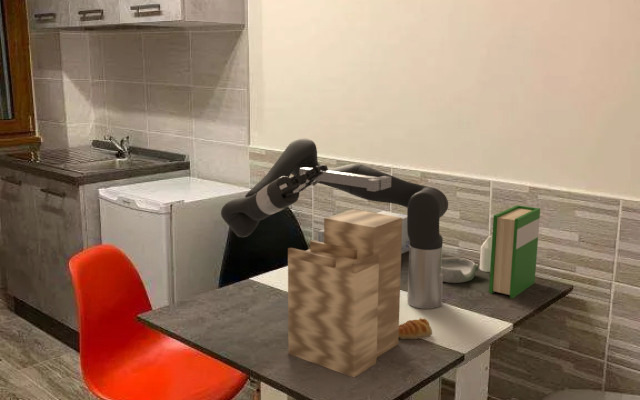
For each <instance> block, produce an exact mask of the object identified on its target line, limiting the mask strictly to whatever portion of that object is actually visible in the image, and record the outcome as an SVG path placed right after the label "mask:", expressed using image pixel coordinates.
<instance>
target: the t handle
mask: <svg viewBox="0 0 640 400" xmlns="http://www.w3.org/2000/svg"><path fill="white" fill-rule="evenodd" d="M311 169H312V168H307V167H304V168H299V174H302V173H303V172H306V173H307V171H309V170H311ZM320 170H321V175H319V176H317V177H315V178H314V179H312V180H316V181H323V182H329V183H336V184H343V185H349V186H356V187H363V188H367V191H373V192H375V191H378V190H383V189H386V188H389V187H391V177H389V176H381V177H374V176H366V175H359V174H352V173H344V172H337V171H329V170H322V169H320ZM309 180H310V179H309Z"/></svg>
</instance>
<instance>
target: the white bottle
mask: <svg viewBox="0 0 640 400" xmlns="http://www.w3.org/2000/svg"><path fill="white" fill-rule="evenodd" d="M491 250H492V235H490V236H488V237H487V238H486V240H485V241H484V242H483V243H482V244H481V246H480V258H479V270H480V271H482V272H484V273H485V272H486V273H490V266H491Z"/></svg>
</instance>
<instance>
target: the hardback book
mask: <svg viewBox="0 0 640 400" xmlns="http://www.w3.org/2000/svg"><path fill="white" fill-rule="evenodd" d="M540 217H541V208H538V207H531V206H524V205H517V204H516V205H514V206H512V207H510V208H507V209H506V210H503V211H501V212H498V213H496V214H493V218H492V221H493V222H492V250H491V266H490V272H489V273H490V274H489V283H488V284H489V285H488V294H494V293H495V292H496V293H500V294H504V295H508V296H509V298H510V299H514V298H515V297H516V296H518V295H519V294H521V293H523V292H525V290H527V289H528V288H530V287H531V286H533V285H534V284H535V283H536V267H537V257H538V256H537V255H538V245H539V244H538V243H539V233H540V232H539V231H540Z"/></svg>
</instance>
